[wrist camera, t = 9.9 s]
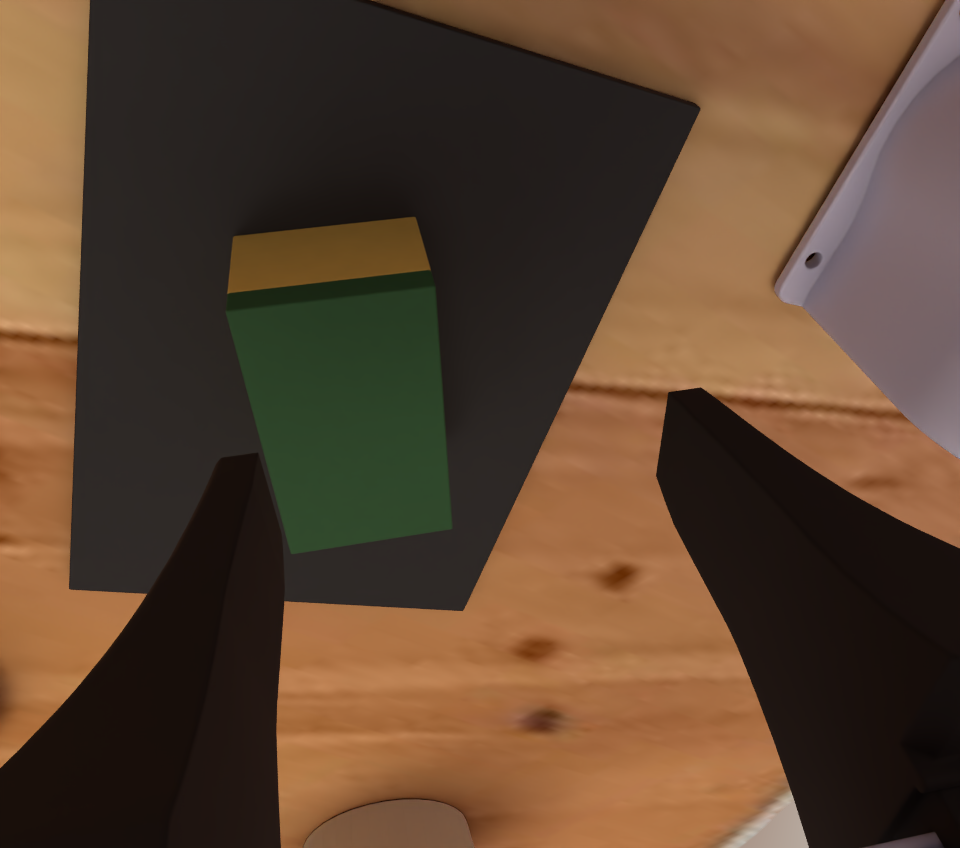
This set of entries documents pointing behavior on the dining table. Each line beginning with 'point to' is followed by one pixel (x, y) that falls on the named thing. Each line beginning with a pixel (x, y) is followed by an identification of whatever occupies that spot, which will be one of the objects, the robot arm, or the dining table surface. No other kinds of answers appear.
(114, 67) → the drying mat
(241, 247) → the sponge
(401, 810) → the reusable coffee cup
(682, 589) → the dining table surface
